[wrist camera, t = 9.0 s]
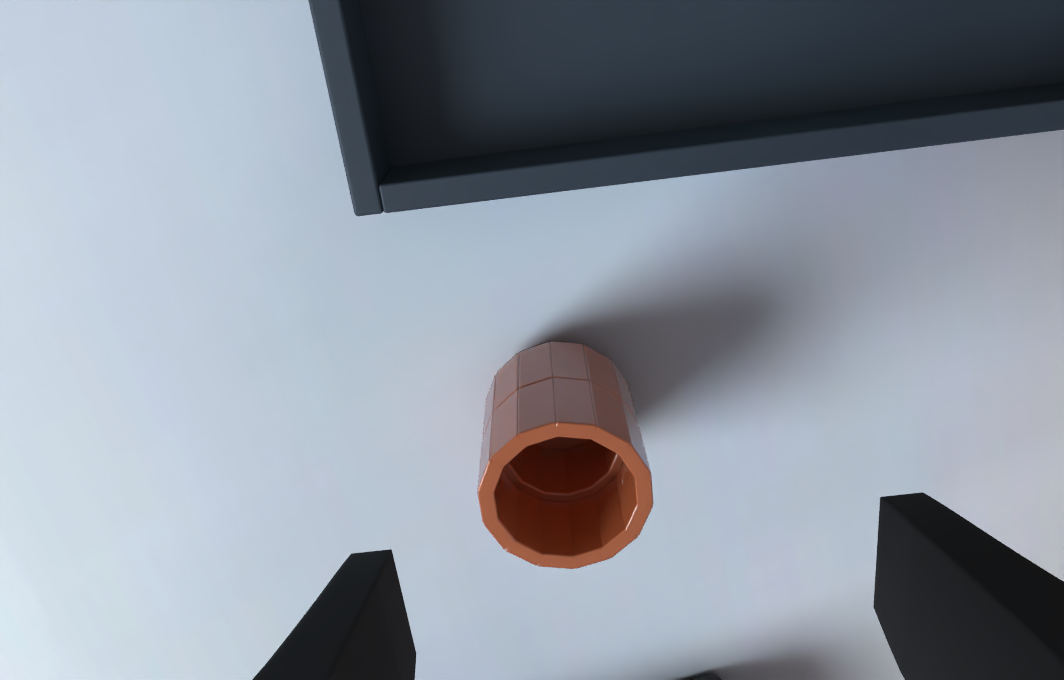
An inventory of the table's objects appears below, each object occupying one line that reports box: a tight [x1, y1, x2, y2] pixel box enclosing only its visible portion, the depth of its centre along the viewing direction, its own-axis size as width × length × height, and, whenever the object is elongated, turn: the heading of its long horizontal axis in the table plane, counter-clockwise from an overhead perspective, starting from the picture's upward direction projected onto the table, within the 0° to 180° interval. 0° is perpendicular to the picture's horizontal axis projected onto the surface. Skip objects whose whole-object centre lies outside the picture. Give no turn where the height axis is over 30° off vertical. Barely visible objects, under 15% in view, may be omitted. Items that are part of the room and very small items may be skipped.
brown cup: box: [477, 341, 653, 569], centre depth 19 cm, size 4×4×4 cm
